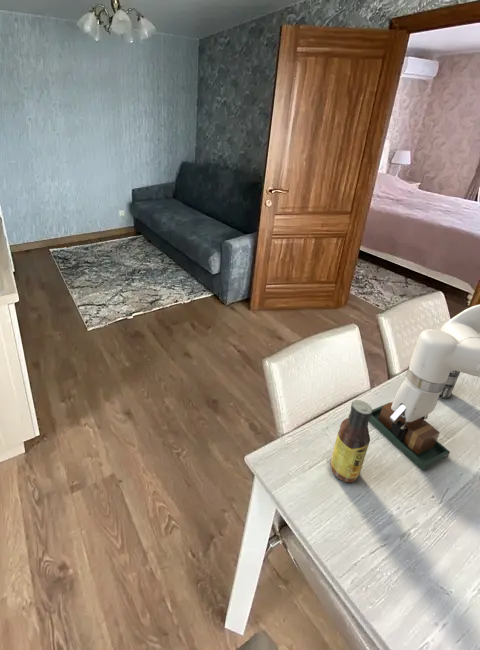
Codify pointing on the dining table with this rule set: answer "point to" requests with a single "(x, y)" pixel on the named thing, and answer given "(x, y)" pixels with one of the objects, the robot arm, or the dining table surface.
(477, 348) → the robot arm
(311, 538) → the dining table surface
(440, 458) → the tray
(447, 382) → the beverage can
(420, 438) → the walnut box
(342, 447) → the sauce bottle
